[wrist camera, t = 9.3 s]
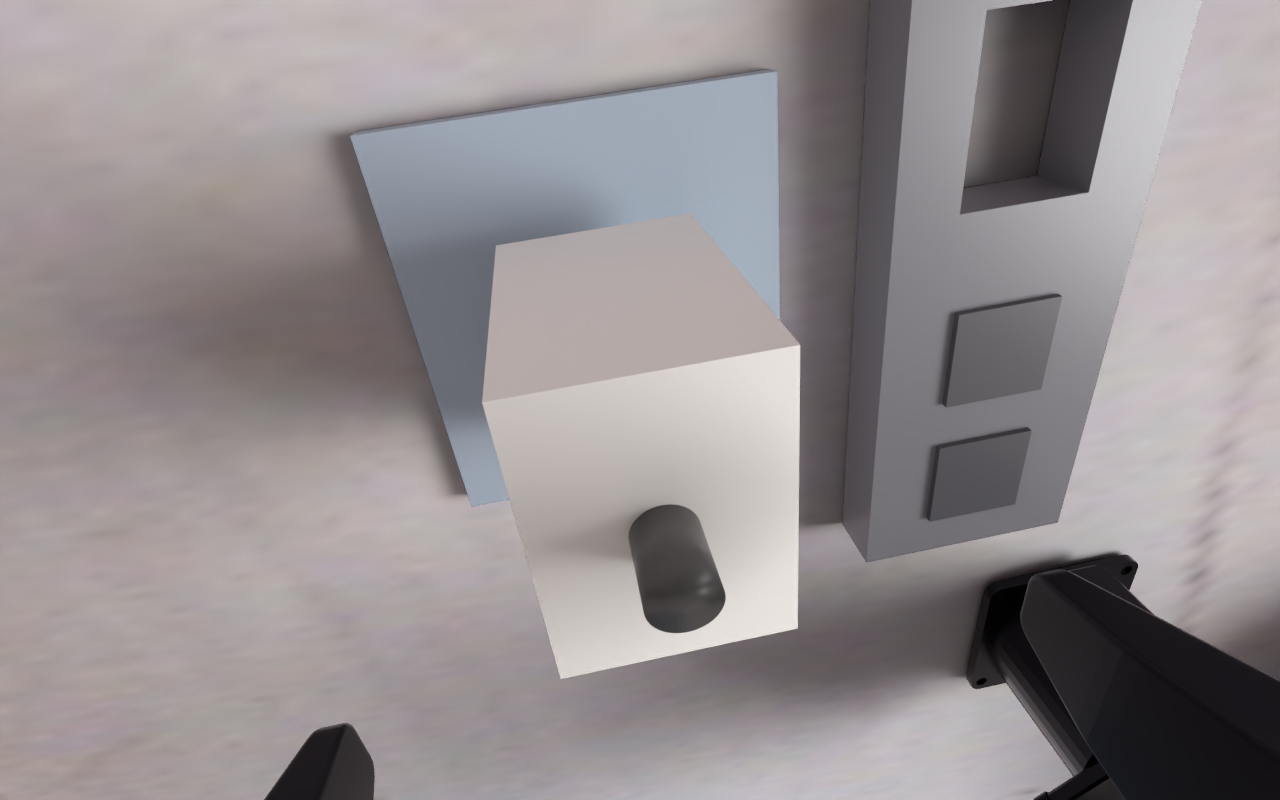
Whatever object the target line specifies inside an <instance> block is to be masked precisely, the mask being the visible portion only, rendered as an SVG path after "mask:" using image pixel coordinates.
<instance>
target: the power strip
mask: <svg viewBox="0 0 1280 800" xmlns="http://www.w3.org/2000/svg"><path fill="white" fill-rule="evenodd" d="M1045 1H1051V0H870V9H869V28H868V47H867V66H866V85H865V104H864V123H863V142H862V161H861V179H860V198H859V217H858V236H857V255H856V274H855V293H854V312H853V331H852V350H851V369H850V388H849V407H848V426H847V445H846V464H845V483H844V502H843V521H842V524H843V526H844V527H845V529H846V530H847V532H848V534H849V535H850V537H851V538H852V540H853V542H854V543H855V545H856V546H857V548H858V550H859V551H860V553H861V554H862V556H863V558H864V559H865V561H866V562H871V561H876V560H880V559H885V558H890V557H895V556H899V555H904V554H909V553H914V552H919V551H923V550H928V549H933V548H938V547H943V546H947V545H952V544H957V543H962V542H966V541H971V540H976V539H981V538H986V537H990V536H995V535H1000V534H1005V533H1010V532H1014V531H1019V530H1024V529H1029V528H1034V527H1038V526H1043V525H1048V524H1053V523H1057V522H1058V519H1059V516H1060V512H1061V508H1062V505H1063V501H1064V498H1065V494H1066V490H1067V487H1068V483H1069V479H1070V476H1071V472H1072V469H1073V465H1074V461H1075V458H1076V454H1077V451H1078V447H1079V443H1080V440H1081V436H1082V432H1083V429H1084V425H1085V422H1086V418H1087V414H1088V411H1089V407H1090V404H1091V400H1092V396H1093V393H1094V389H1095V385H1096V382H1097V378H1098V375H1099V371H1100V367H1101V364H1102V360H1103V357H1104V353H1105V349H1106V346H1107V342H1108V338H1109V335H1110V331H1111V328H1112V324H1113V320H1114V317H1115V313H1116V310H1117V306H1118V302H1119V299H1120V295H1121V292H1122V288H1123V284H1124V281H1125V277H1126V273H1127V270H1128V266H1129V263H1130V259H1131V255H1132V252H1133V248H1134V245H1135V241H1136V237H1137V234H1138V230H1139V226H1140V223H1141V219H1142V216H1143V212H1144V208H1145V205H1146V201H1147V198H1148V194H1149V190H1150V187H1151V183H1152V179H1153V176H1154V172H1155V169H1156V165H1157V161H1158V158H1159V154H1160V151H1161V147H1162V143H1163V140H1164V136H1165V132H1166V129H1167V125H1168V122H1169V118H1170V114H1171V111H1172V107H1173V104H1174V100H1175V96H1176V93H1177V89H1178V85H1179V82H1180V78H1181V75H1182V71H1183V67H1184V64H1185V60H1186V57H1187V53H1188V49H1189V46H1190V42H1191V38H1192V35H1193V31H1194V28H1195V24H1196V20H1197V17H1198V13H1199V10H1200V6H1201V2H1202V0H1070V4H1069V9H1068V14H1067V20H1066V25H1065V30H1064V36H1063V41H1062V46H1061V52H1060V57H1059V62H1058V68H1057V73H1056V78H1055V84H1054V89H1053V94H1052V100H1051V105H1050V110H1049V115H1048V121H1047V126H1046V131H1045V137H1044V142H1043V147H1042V153H1041V158H1040V163H1039V169H1038V174H1037V176H1032V177H1026V178H1020V179H1014V180H1008V181H1002V182H996V183H990V184H985V185H979V186H973V187H967V188H963V186H964V179H965V171H966V164H967V156H968V149H969V141H970V134H971V126H972V119H973V111H974V103H975V96H976V88H977V81H978V73H979V66H980V58H981V51H982V43H983V35H984V28H985V20H986V13H987V10H991V9H997V8H1004V7H1011V6H1018V5H1024V4H1031V3H1038V2H1045Z"/></svg>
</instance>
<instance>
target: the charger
mask: <svg viewBox="0 0 1280 800" xmlns="http://www.w3.org/2000/svg"><path fill="white" fill-rule="evenodd" d="M482 404H483V408H484V411H485V415H486V418H487V422H488V425H489V429H490V432H491V436H492V439H493V443H494V446H495V450H496V453H497V457H498V460H499V464H500V467H501V471H502V474H503V478H504V481H505V485H506V488H507V492H508V495H509V499H510V502H511V506H512V509H513V513H514V516H515V520H516V523H517V527H518V531H519V534H520V538H521V541H522V545H523V548H524V552H525V555H526V559H527V562H528V566H529V569H530V573H531V576H532V580H533V583H534V587H535V590H536V594H537V597H538V601H539V604H540V608H541V611H542V615H543V618H544V622H545V625H546V629H547V632H548V636H549V639H550V643H551V646H552V650H553V653H554V657H555V660H556V664H557V667H558V671H559V674H560V678H561V679H564V678H568V677H573V676H578V675H582V674H587V673H592V672H596V671H601V670H606V669H610V668H615V667H620V666H625V665H629V664H634V663H639V662H643V661H648V660H653V659H657V658H662V657H667V656H671V655H676V654H681V653H685V652H690V651H695V650H699V649H704V648H709V647H713V646H718V645H723V644H727V643H732V642H737V641H741V640H746V639H751V638H755V637H760V636H765V635H769V634H774V633H779V632H784V631H788V630H793V629H798V545H799V432H800V344H799V343H798V341H797V340H796V339H795V338H794V337H793V335H792V334H791V333H790V332H789V331H788V329H787V328H786V327H785V326H784V325H783V323H782V322H781V321H780V320H779V319H778V317H777V316H776V315H775V314H774V313H773V311H772V310H771V309H770V308H769V307H768V305H767V304H766V303H765V302H764V301H763V299H762V298H761V297H760V296H759V295H758V293H757V292H756V291H755V290H754V289H753V287H752V286H751V285H750V284H749V283H748V281H747V280H746V279H745V278H744V277H743V275H742V274H741V273H740V272H739V271H738V269H737V268H736V267H735V266H734V265H733V263H732V262H731V261H730V260H729V259H728V257H727V256H726V255H725V254H724V253H723V251H722V250H721V249H720V248H719V247H718V245H717V244H716V243H715V242H714V241H713V239H712V238H711V237H710V236H709V235H708V233H707V232H706V231H705V230H704V229H703V227H702V226H701V225H700V224H699V223H698V221H697V220H696V219H695V218H694V217H693V215H692V214H691V213H690V214H684V215H678V216H672V217H666V218H660V219H654V220H647V221H641V222H635V223H629V224H623V225H617V226H611V227H605V228H599V229H593V230H587V231H581V232H575V233H568V234H562V235H556V236H550V237H544V238H538V239H532V240H526V241H520V242H514V243H508V244H502V245H496V251H495V262H494V273H493V285H492V296H491V307H490V319H489V330H488V341H487V353H486V364H485V375H484V386H483V398H482Z"/></svg>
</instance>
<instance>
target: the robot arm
mask: <svg viewBox="0 0 1280 800" xmlns="http://www.w3.org/2000/svg"><path fill="white" fill-rule="evenodd" d="M1137 569H1138V564H1137V562H1136V561H1134V560H1133V559H1132V558H1131V557H1130V556H1128V555H1120V556H1115V557H1110V558H1106V559H1101V560H1096V561H1092V562H1087V563H1082V564H1078V565H1073V566H1068V567H1064V568H1059V569H1054V570H1050V571H1045V572H1040V573H1036V574H1031V575H1026V576H1022V577H1017V578H1012V579H1008V580H1003V581H998V582H995V583H993V584H991V585H990V586H988V587H987V589H986V590H985V592H984V596H983V601H982V606H981V610H980V615H979V620H978V624H977V629H976V633H975V638H974V643H973V647H972V652H971V657H970V661H969V666H968V670H967V675H966V679H967V680H968V682H969V683H970V685H971V686H972V687H973V688H975V689H980V688H984V687H989V686H993V685H998V684H1002V683H1006V684H1007V685H1008V686H1009V688H1010V689H1011V690H1012V692H1013V693H1014V695H1015V696H1016V697H1017V699H1018V700H1019V702H1020V703H1021V704H1022V706H1023V707H1024V708H1025V710H1026V711H1027V713H1028V714H1029V715H1030V717H1031V718H1032V720H1033V721H1034V722H1035V724H1036V725H1037V726H1038V728H1039V729H1040V731H1041V732H1042V733H1043V735H1044V736H1045V738H1046V739H1047V740H1048V742H1049V743H1050V745H1051V746H1052V747H1053V749H1054V750H1055V751H1056V753H1057V754H1058V756H1059V757H1060V758H1061V760H1062V761H1063V763H1064V764H1065V765H1066V767H1067V768H1068V769H1069V771H1070V772H1071V774H1072V775H1073V776H1074V777H1072V778H1070V779H1069V780H1067V781H1066V782H1064V783H1063V784H1061V785H1060V786H1058V787H1057V788H1055V789H1054V790H1052V791H1051V792H1049V793H1048V792H1043V793H1042V794H1040V795H1039V796H1037V797H1036V798H1034V800H1280V680H1278V679H1276V678H1274V677H1272V676H1270V675H1268V674H1266V673H1264V672H1262V671H1261V670H1259V669H1257V668H1255V667H1253V666H1251V665H1249V664H1247V663H1245V662H1243V661H1241V660H1239V659H1237V658H1236V657H1234V656H1232V655H1230V654H1228V653H1226V652H1224V651H1222V650H1220V649H1218V648H1216V647H1214V646H1212V645H1210V644H1209V643H1207V642H1205V641H1203V640H1201V639H1199V638H1197V637H1195V636H1193V635H1191V634H1189V633H1187V632H1185V631H1184V630H1182V629H1180V628H1178V627H1176V626H1174V625H1172V624H1170V623H1168V622H1166V621H1164V620H1162V619H1160V618H1158V617H1157V616H1155V615H1154V614H1153V613H1152V612H1151V611H1150V610H1149V609H1148V608H1147V607H1146V606H1145V605H1144V604H1142V603H1141V602H1140V601H1139V600H1138V599H1137V598H1136V597H1135V596H1134V595H1133V594H1132V593H1131V592H1130V591H1129V590H1130V587H1131V584H1132V582H1133V579H1134V577H1135V574H1136V571H1137ZM374 778H375V775H374V765H373V761H372V759H371V756H370V755H369V753H368V751H367V749H366V748H365V746H364V744H363V742H362V741H361V739H360V737H359V736H358V734H357V732H356V730H355V729H354V727H353V726H352V725H350V724H348V723H342V724H338V725H333V726H328V727H324V728H320V729H318V730H316V731H315V732H313V733H312V734H311V735H310V737H309V738H308V739H307V740H306V742H305V743H304V745H303V746H302V747H301V749H300V750H299V752H298V753H297V754H296V756H295V757H294V759H293V760H292V761H291V763H290V764H289V766H288V767H287V768H286V770H285V771H284V773H283V774H282V775H281V777H280V778H279V780H278V781H277V783H276V784H275V785H274V787H273V788H272V790H271V791H270V792H269V794H268V795H267V797H266V798H265V799H264V800H373V798H374Z"/></svg>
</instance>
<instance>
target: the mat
mask: <svg viewBox="0 0 1280 800" xmlns="http://www.w3.org/2000/svg"><path fill="white" fill-rule="evenodd" d="M350 138H351V141H352V144H353V147H354V150H355V153H356V156H357V159H358V162H359V165H360V168H361V171H362V174H363V177H364V180H365V183H366V186H367V189H368V192H369V195H370V199H371V202H372V205H373V208H374V211H375V214H376V217H377V220H378V223H379V226H380V229H381V232H382V235H383V238H384V241H385V244H386V247H387V250H388V253H389V256H390V260H391V263H392V266H393V269H394V272H395V275H396V278H397V281H398V284H399V287H400V290H401V293H402V296H403V299H404V302H405V305H406V308H407V311H408V314H409V318H410V321H411V324H412V327H413V330H414V333H415V336H416V339H417V342H418V345H419V348H420V351H421V354H422V357H423V360H424V363H425V366H426V369H427V372H428V375H429V379H430V382H431V385H432V388H433V391H434V394H435V397H436V400H437V403H438V406H439V409H440V412H441V415H442V418H443V421H444V424H445V427H446V430H447V433H448V436H449V440H450V443H451V446H452V449H453V452H454V455H455V458H456V461H457V464H458V467H459V470H460V473H461V476H462V479H463V482H464V485H465V488H466V491H467V494H468V497H469V501H470V504H471V507H474V506H479V505H484V504H489V503H494V502H499V501H505V500H510V499H509V495H508V492H507V488H506V485H505V481H504V478H503V474H502V471H501V467H500V464H499V460H498V457H497V453H496V450H495V446H494V443H493V439H492V436H491V432H490V429H489V425H488V422H487V418H486V415H485V411H484V408H483V404H482V398H483V386H484V375H485V364H486V353H487V341H488V330H489V319H490V307H491V296H492V285H493V273H494V262H495V251H496V245H502V244H508V243H514V242H520V241H526V240H532V239H538V238H544V237H550V236H556V235H562V234H568V233H575V232H581V231H587V230H593V229H599V228H605V227H611V226H617V225H623V224H629V223H635V222H641V221H647V220H654V219H660V218H666V217H672V216H678V215H684V214H690V213H691V214H692V215H693V217H694V218H695V219H696V220H697V221H698V223H699V224H700V225H701V226H702V227H703V229H704V230H705V231H706V232H707V233H708V235H709V236H710V237H711V238H712V239H713V241H714V242H715V243H716V244H717V245H718V247H719V248H720V249H721V250H722V251H723V253H724V254H725V255H726V256H727V257H728V259H729V260H730V261H731V262H732V263H733V265H734V266H735V267H736V268H737V269H738V271H739V272H740V273H741V274H742V275H743V277H744V278H745V279H746V280H747V281H748V283H749V284H750V285H751V286H752V287H753V289H754V290H755V291H756V292H757V293H758V295H759V296H760V297H761V298H762V299H763V301H764V302H765V303H766V304H767V305H768V307H769V308H770V309H771V310H772V311H773V313H774V314H775V315H776V316H777V317H778V319H779V320H780V274H779V176H778V77H777V71H775V70H771V69H767V70H760V71H754V72H747V73H740V74H734V75H727V76H721V77H714V78H707V79H701V80H694V81H687V82H681V83H674V84H668V85H661V86H654V87H648V88H641V89H635V90H628V91H621V92H615V93H608V94H601V95H595V96H588V97H582V98H575V99H568V100H562V101H555V102H549V103H542V104H535V105H529V106H522V107H515V108H509V109H502V110H496V111H489V112H482V113H476V114H469V115H463V116H456V117H449V118H443V119H436V120H430V121H423V122H416V123H410V124H403V125H396V126H390V127H383V128H377V129H370V130H363V131H357V132H354V133H353V134H352V135H351V136H350Z"/></svg>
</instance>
